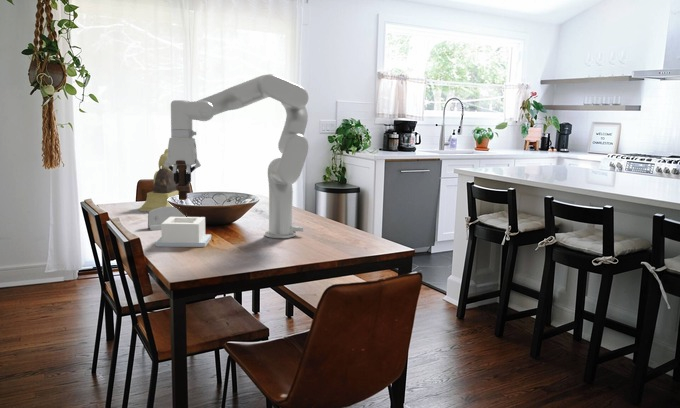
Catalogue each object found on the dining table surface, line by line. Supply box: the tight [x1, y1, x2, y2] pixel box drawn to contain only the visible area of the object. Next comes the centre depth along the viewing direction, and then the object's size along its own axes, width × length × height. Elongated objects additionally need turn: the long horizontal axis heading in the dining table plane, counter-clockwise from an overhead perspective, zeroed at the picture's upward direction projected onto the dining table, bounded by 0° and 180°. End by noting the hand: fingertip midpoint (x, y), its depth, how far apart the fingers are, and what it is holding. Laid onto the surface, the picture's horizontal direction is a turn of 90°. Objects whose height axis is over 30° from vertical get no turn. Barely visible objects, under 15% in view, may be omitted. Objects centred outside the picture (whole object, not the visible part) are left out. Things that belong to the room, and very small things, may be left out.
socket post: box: [155, 216, 212, 248], centre depth 206 cm, size 18×14×8 cm
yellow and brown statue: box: [139, 148, 178, 213], centre depth 275 cm, size 28×13×30 cm, turn 174°
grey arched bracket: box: [147, 207, 187, 231], centre depth 231 cm, size 17×5×10 cm, turn 122°
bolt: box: [176, 160, 190, 200], centre depth 202 cm, size 6×5×15 cm
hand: (182, 183), depth 203 cm, fingers closed on bolt, 3 cm apart
